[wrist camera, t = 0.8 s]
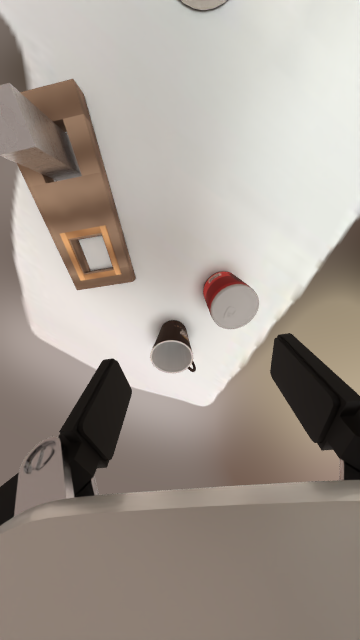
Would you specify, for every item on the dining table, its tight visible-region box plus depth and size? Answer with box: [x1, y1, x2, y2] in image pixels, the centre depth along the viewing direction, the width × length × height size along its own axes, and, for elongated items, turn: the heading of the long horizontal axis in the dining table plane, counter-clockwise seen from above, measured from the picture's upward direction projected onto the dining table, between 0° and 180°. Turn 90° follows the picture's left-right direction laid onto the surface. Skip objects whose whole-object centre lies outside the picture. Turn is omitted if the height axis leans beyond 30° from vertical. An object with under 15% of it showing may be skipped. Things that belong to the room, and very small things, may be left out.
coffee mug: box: [150, 320, 196, 373], centre depth 37 cm, size 12×9×10 cm
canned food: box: [203, 272, 259, 329], centre depth 31 cm, size 8×8×11 cm
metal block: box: [0, 83, 82, 181], centre depth 21 cm, size 4×4×10 cm
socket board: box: [17, 79, 136, 290], centre depth 27 cm, size 26×12×3 cm, turn 9°
